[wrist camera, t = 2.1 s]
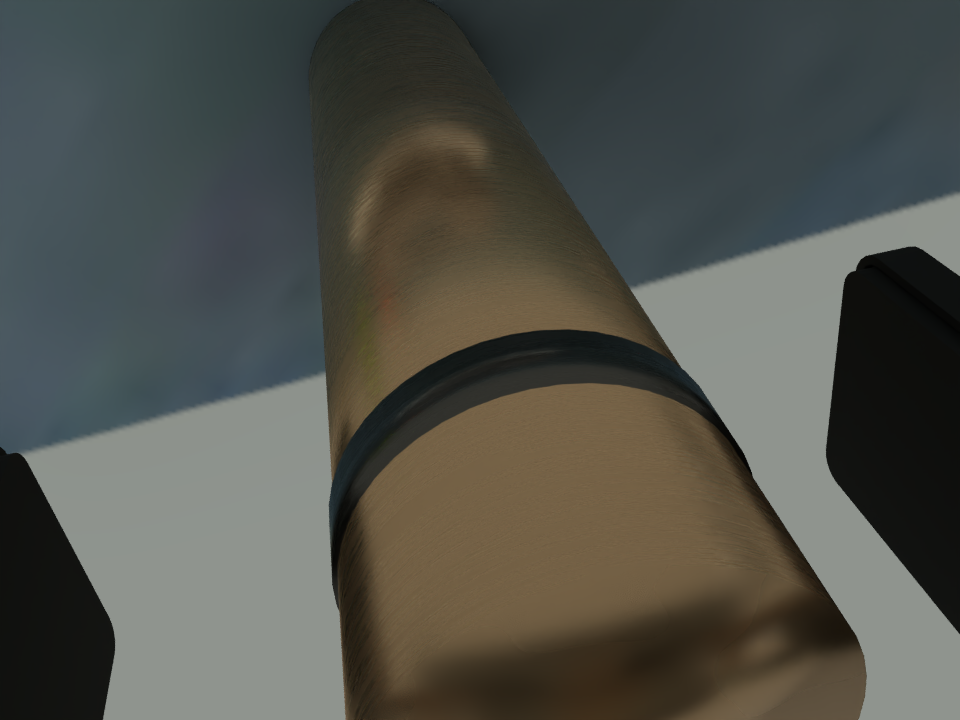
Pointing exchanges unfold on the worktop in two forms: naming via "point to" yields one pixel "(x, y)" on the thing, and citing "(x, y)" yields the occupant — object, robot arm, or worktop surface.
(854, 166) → the worktop surface
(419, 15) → the thermos bottle
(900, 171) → the worktop surface
